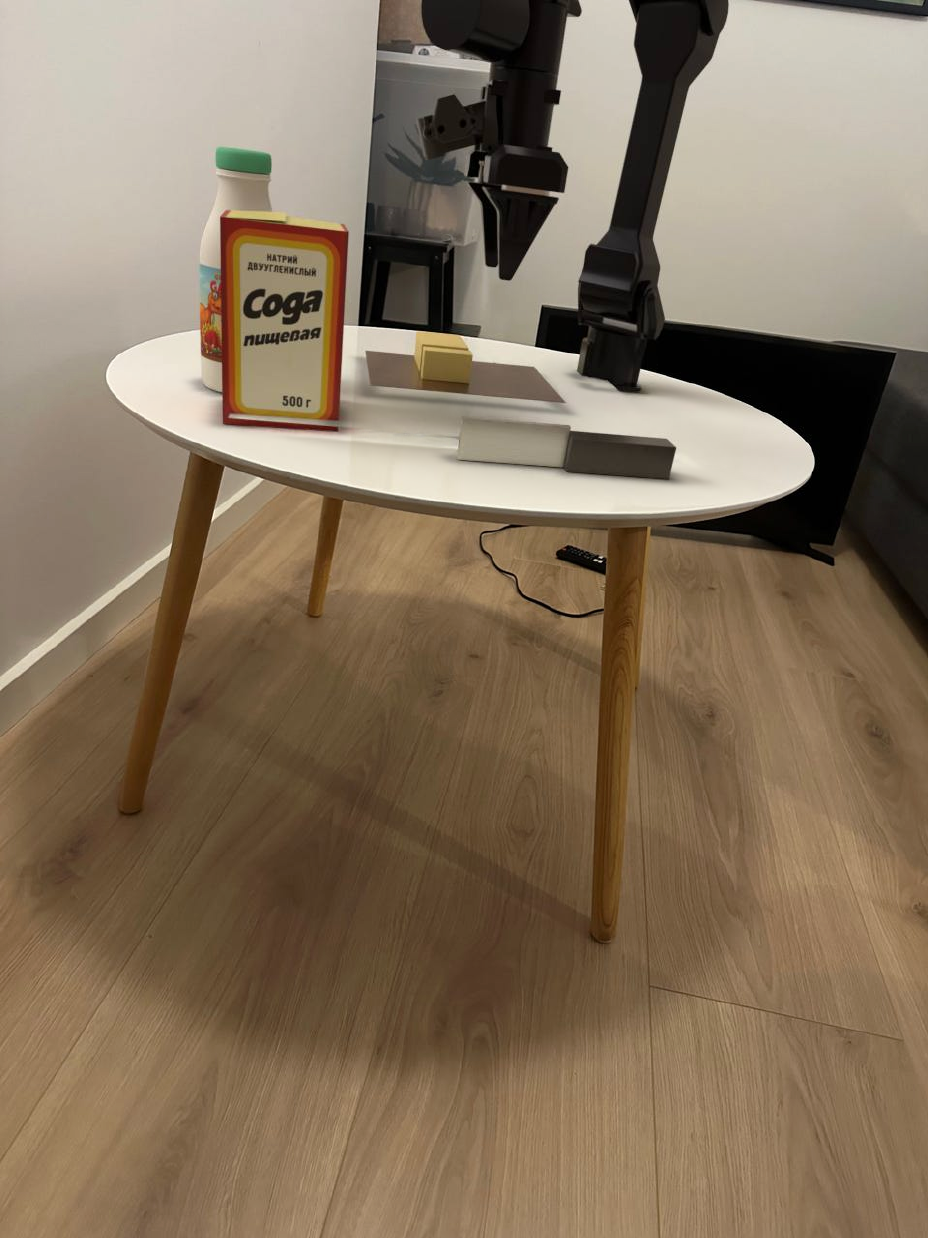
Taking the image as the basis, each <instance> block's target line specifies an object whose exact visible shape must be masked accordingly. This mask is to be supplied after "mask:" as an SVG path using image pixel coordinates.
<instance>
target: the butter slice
mask: <svg viewBox="0 0 928 1238" xmlns="http://www.w3.org/2000/svg"><path fill="white" fill-rule="evenodd" d="M473 357H474V355H473V353H472V351H470V350H468V351H464V350H454V349H444V348H434V347H423V355H422V366H421V377H422V379H424V380H434V381H445V382H456V383H467V384H469V381H470V373H471V365H472V361H473Z"/></svg>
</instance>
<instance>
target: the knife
mask: <svg viewBox="0 0 928 1238" xmlns="http://www.w3.org/2000/svg"><path fill="white" fill-rule="evenodd" d="M571 429H572V426H571V425H569V424H560V423H559V424H557V423H548V422H547V423H546V422H536V421H535V422H534V421H524V420H511V419H499V418H490V417H479V416H465V415H464V416H461V420H460V429H459V437H458V445H457V454H456V459H457V460H458V461H471V462H485V463H496V464H511V465H525V466H537V467H548V468H561V469H563V468H564V470H565V471H566V472H568V473H581V474H595V475H611V476H622V477H633V478H634V477H635V478H649V479H661V480H662V479H663V480H669V479H670V476H671V472H672V467H673V463H674V460H675V455H676V452H677V446H675V445H674V443H672V442H671V441H670V440H669V439H668V438H664V437H663V438H662V437H651V436H650V437H649V436H639V435H638V436H637V435H628V434H614V433H602V432H589V431H579V430H571Z"/></svg>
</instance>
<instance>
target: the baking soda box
mask: <svg viewBox="0 0 928 1238" xmlns="http://www.w3.org/2000/svg"><path fill="white" fill-rule="evenodd" d="M349 236H350V232H349V230H348V228H347V226H346V224H344V223H339V222H333V221H331V222H330V221H325V220H319V219H318V220H317V219H311V218H305V217H298V216H291V215H290V216H289V215H287V213H286V212H285V211H284V212H283V211H273V212H262V211H236V210H226V211H225V212H224V213H223V214H222V215H221V216H220V252H221V330H222V392H221V395H222V396H221V400H222V402H221V403H222V405H221V406H222V425H232V426H234V425H235V426H246V427H247V426H248V427H249V426H250V427H264V428H278V429H279V428H280V429H294V430H309V431H325V432H337V433H338V432H339V429H340V428H339V426H336V425H325V424H324V425H323V424H312V423H299V422H298V423H297V422H287V421H275V420H262V419H249V418H239V417H238V418H237V417H230V415H231V414H238V415H251V416H252V415H253V416H268V417H281V418H294V419H307V420H309V419H311V420H322V421H324V420H325V421H340V409H341V408H340V407H341V391H342V390H341V389H342V388H341V387H342V371H343V370H342V368H343V351H344V349H343V348H344V331H345V315H346V314H345V311H346V293H347V292H346V291H347V273H348V255H349V254H348V253H349Z"/></svg>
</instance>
